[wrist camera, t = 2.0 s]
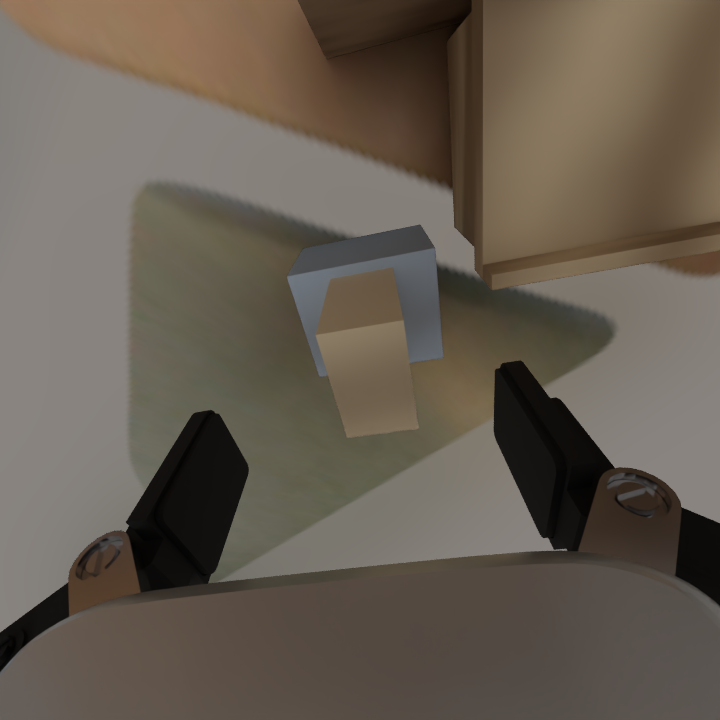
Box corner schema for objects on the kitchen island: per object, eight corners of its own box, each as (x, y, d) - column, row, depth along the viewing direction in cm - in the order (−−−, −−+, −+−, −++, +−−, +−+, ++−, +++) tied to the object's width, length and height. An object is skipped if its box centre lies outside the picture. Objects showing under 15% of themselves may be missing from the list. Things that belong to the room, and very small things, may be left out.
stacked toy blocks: (420, 224, 19) (465, 295, 10) (429, 320, 23) (469, 434, 14) (303, 248, 20) (254, 331, 11) (328, 336, 23) (306, 454, 15)
